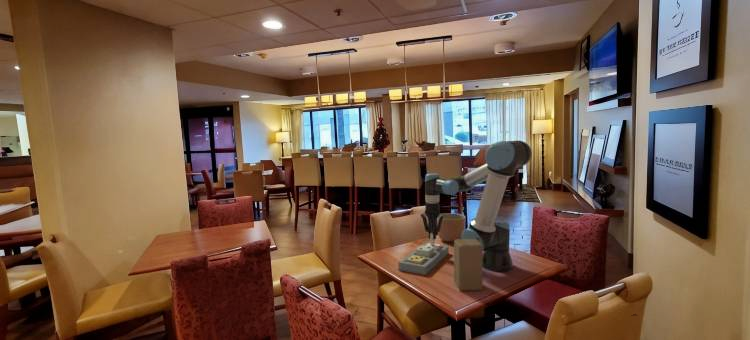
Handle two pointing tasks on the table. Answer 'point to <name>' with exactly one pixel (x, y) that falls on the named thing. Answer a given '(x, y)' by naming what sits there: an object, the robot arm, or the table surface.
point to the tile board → (428, 265)
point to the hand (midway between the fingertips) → (432, 244)
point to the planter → (451, 227)
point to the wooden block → (468, 264)
